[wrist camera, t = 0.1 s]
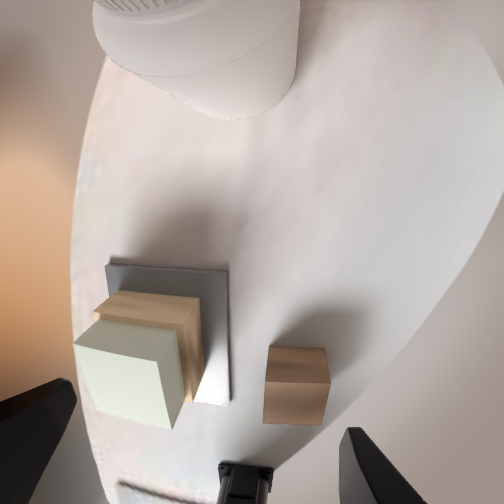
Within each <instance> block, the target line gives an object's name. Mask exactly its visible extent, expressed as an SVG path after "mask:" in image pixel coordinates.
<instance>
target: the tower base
mask: <svg viewBox="0 0 504 504" xmlns="http://www.w3.org/2000/svg"><path fill="white" fill-rule="evenodd" d="M93 317H94V321H95V322H96V321H97V320H98V319H103V320H109V321H115V322H121V323H127V324H134V325H141V326H148V327H155V328H162V329H170V330H176V331H177V339H178V347H179V355H180V362H181V369H182V376H183V383H184V390H185V396H186V398H185V400H184V402H191V403H193V401H194V399H195V396H196V393H197V391H198V388H199V386H200V383H201V380H202V378H203V375H204V372H205V367H204V356H203V343H202V330H201V315H200V299H199V298H194V297H182V296H171V295H160V294H150V293H140V292H131V291H122V290H118V291H116V292H115V293H114V294H113V295H112V296H110V297H109V298H108V299H107V300H106V301H104V302H103V303H102V304H101V305H100V306H98V307H97V308H96V309H95V310H94V311H93Z"/></svg>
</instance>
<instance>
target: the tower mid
mask: <svg viewBox="0 0 504 504" xmlns="http://www.w3.org/2000/svg"><path fill="white" fill-rule="evenodd" d="M73 347H74V350H75V353H76V357H77V360H78V363H79V366H80V369H81V372H82V374H83V377H84V380H85V383H86V385H87V388H88V391H89V393H90V396H91V398H92V401H93V403H94V406H95V408H96V411H99V412H102V413H106V414H109V415H112V416H116V417H119V418H123V419H126V420H130V421H134V422H137V423H141V424H146V425H150V426H154V427H158V428H163V429H168V430H172V429H173V427H174V424H175V422H176V419H177V417H178V415H179V412H180V410H181V407H182V405H183V403H184V400H185V398H186V396H185V390H184V383H183V376H182V369H181V362H180V355H179V347H178V339H177V331H176V330H170V329H162V328H155V327H148V326H141V325H134V324H127V323H121V322H115V321H109V320H103V319H98V320H97V321H96V322H95V323H94V324H93V325H92V326H91V327H90V328H89V329H88V330H87V331H86V332H84V333H83V334H82V335H81V336H80V337H79V338H78V339H77V340H76V341H75V342H74V343H73Z"/></svg>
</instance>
